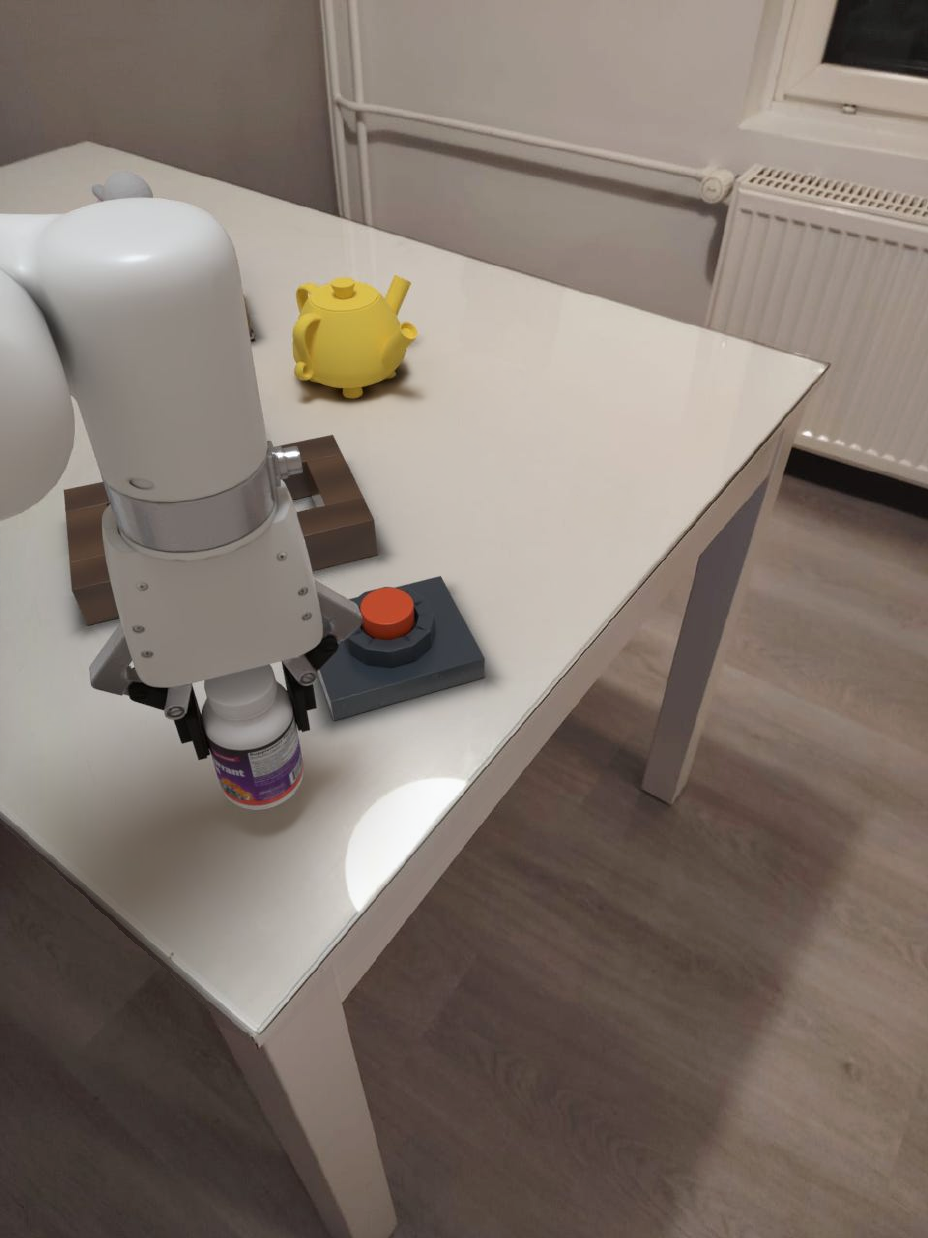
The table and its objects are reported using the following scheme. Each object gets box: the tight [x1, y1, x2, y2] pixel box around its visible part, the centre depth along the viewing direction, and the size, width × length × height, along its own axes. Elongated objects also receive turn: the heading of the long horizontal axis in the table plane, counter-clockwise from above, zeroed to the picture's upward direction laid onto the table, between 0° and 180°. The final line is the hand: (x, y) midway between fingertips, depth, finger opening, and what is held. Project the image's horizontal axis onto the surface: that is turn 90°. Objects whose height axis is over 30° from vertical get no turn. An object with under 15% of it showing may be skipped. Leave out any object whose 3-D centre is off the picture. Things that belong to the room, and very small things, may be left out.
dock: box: [63, 434, 379, 626], centre depth 78 cm, size 14×25×4 cm, turn 111°
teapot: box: [292, 274, 419, 399], centre depth 96 cm, size 14×14×11 cm
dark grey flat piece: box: [317, 575, 486, 722], centre depth 67 cm, size 12×10×4 cm
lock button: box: [360, 587, 414, 640], centre depth 66 cm, size 4×4×2 cm
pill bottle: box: [201, 664, 304, 811], centre depth 53 cm, size 5×5×10 cm
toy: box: [91, 171, 154, 203], centre depth 131 cm, size 8×7×15 cm
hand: (250, 726), depth 54 cm, fingers closed on pill bottle, 5 cm apart
